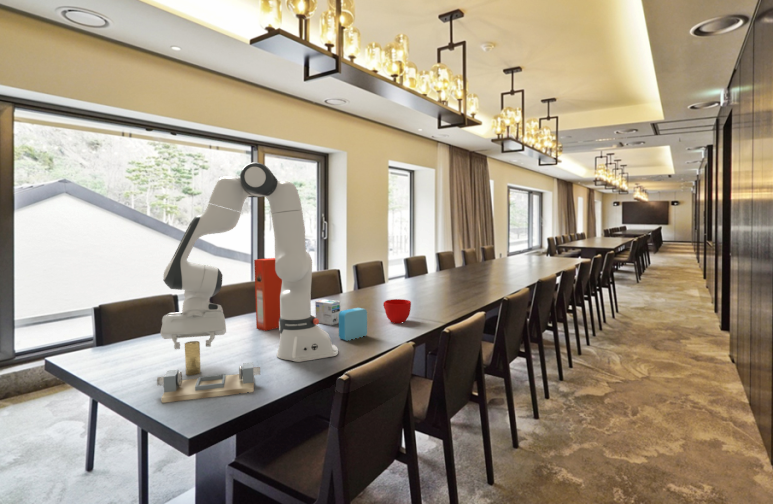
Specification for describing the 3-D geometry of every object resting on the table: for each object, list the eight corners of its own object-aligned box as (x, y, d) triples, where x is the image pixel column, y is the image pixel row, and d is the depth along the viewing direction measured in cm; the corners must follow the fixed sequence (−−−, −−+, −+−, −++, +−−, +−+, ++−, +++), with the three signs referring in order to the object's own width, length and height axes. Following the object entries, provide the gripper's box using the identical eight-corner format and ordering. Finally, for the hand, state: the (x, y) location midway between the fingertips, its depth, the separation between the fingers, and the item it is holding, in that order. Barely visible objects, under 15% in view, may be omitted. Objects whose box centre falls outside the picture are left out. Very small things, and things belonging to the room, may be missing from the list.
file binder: (256, 328, 193) (254, 259, 190) (287, 321, 206) (285, 256, 203) (266, 331, 187) (264, 260, 185) (297, 323, 200) (296, 257, 198)
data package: (360, 334, 182) (360, 307, 182) (367, 336, 179) (367, 308, 178) (338, 339, 174) (338, 311, 173) (345, 341, 171) (345, 312, 170)
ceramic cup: (393, 316, 216) (393, 297, 215) (416, 322, 203) (416, 302, 202) (374, 320, 208) (374, 300, 207) (396, 326, 195) (396, 305, 194)
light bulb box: (341, 322, 203) (340, 300, 202) (332, 325, 197) (331, 303, 196) (324, 320, 208) (323, 298, 207) (315, 322, 203) (314, 300, 202)
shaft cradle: (260, 376, 133) (259, 358, 133) (260, 391, 122) (260, 371, 121) (163, 387, 125) (162, 367, 124) (153, 403, 113) (152, 382, 113)
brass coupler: (201, 369, 139) (200, 340, 138) (199, 374, 135) (198, 344, 134) (187, 371, 138) (185, 341, 137) (184, 376, 134) (183, 345, 133)
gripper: (161, 308, 141) (155, 345, 132) (225, 305, 147) (224, 340, 138) (164, 318, 146) (159, 354, 137) (227, 314, 152) (225, 349, 143)
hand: (192, 347), depth 138 cm, fingers open, 8 cm apart
